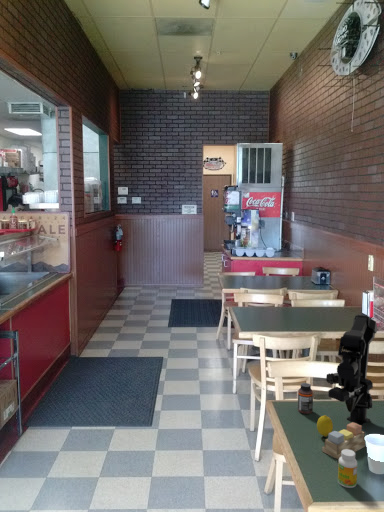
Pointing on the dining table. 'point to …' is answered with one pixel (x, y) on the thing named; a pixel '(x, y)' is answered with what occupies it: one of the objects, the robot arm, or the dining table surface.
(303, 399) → the supplement bottle
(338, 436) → the button slate
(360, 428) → the button terracotta
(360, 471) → the dining table surface
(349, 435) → the button yellow
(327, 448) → the button board
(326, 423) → the lemon
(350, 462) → the supplement bottle
